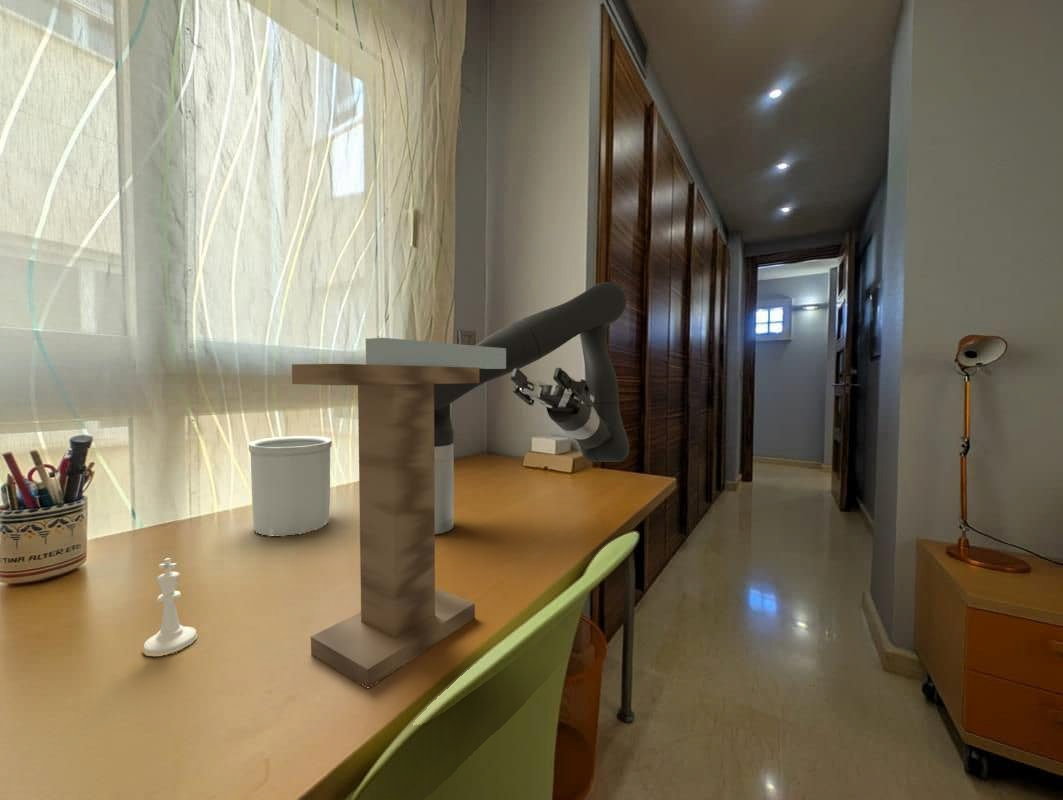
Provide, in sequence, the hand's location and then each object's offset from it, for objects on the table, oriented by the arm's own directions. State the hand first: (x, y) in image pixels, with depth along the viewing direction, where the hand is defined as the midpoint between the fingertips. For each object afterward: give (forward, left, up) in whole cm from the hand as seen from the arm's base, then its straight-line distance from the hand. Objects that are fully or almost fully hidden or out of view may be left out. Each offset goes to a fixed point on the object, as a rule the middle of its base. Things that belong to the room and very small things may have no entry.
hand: (534, 372), depth 77 cm
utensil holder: (-49, -15, -32) cm, 60 cm away
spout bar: (0, -21, 0) cm, 21 cm away
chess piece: (-20, -45, -32) cm, 59 cm away
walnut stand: (0, -29, -31) cm, 43 cm away
